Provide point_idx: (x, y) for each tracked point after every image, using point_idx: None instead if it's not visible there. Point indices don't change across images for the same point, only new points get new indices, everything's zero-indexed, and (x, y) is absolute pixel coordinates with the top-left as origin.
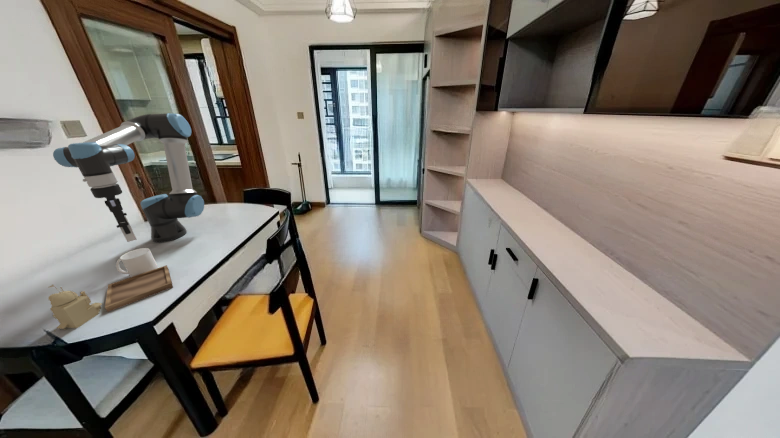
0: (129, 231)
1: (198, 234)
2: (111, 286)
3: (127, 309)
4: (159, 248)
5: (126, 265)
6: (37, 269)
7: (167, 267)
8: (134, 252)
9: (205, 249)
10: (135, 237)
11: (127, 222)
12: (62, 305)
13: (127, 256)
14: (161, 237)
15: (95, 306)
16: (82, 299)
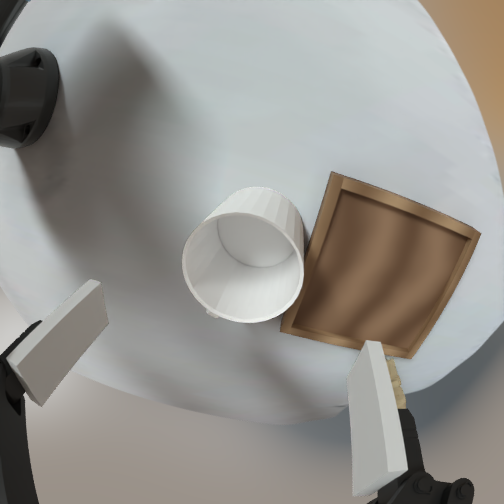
0: (412, 427)
1: (91, 10)
2: (304, 330)
3: (444, 324)
4: (85, 136)
5: (268, 300)
6: None
7: (351, 179)
8: (189, 258)
9: (281, 10)
10: (383, 357)
11: (472, 497)
12: None
13: (200, 283)
14: (35, 120)
15: (388, 370)
16: (405, 406)
